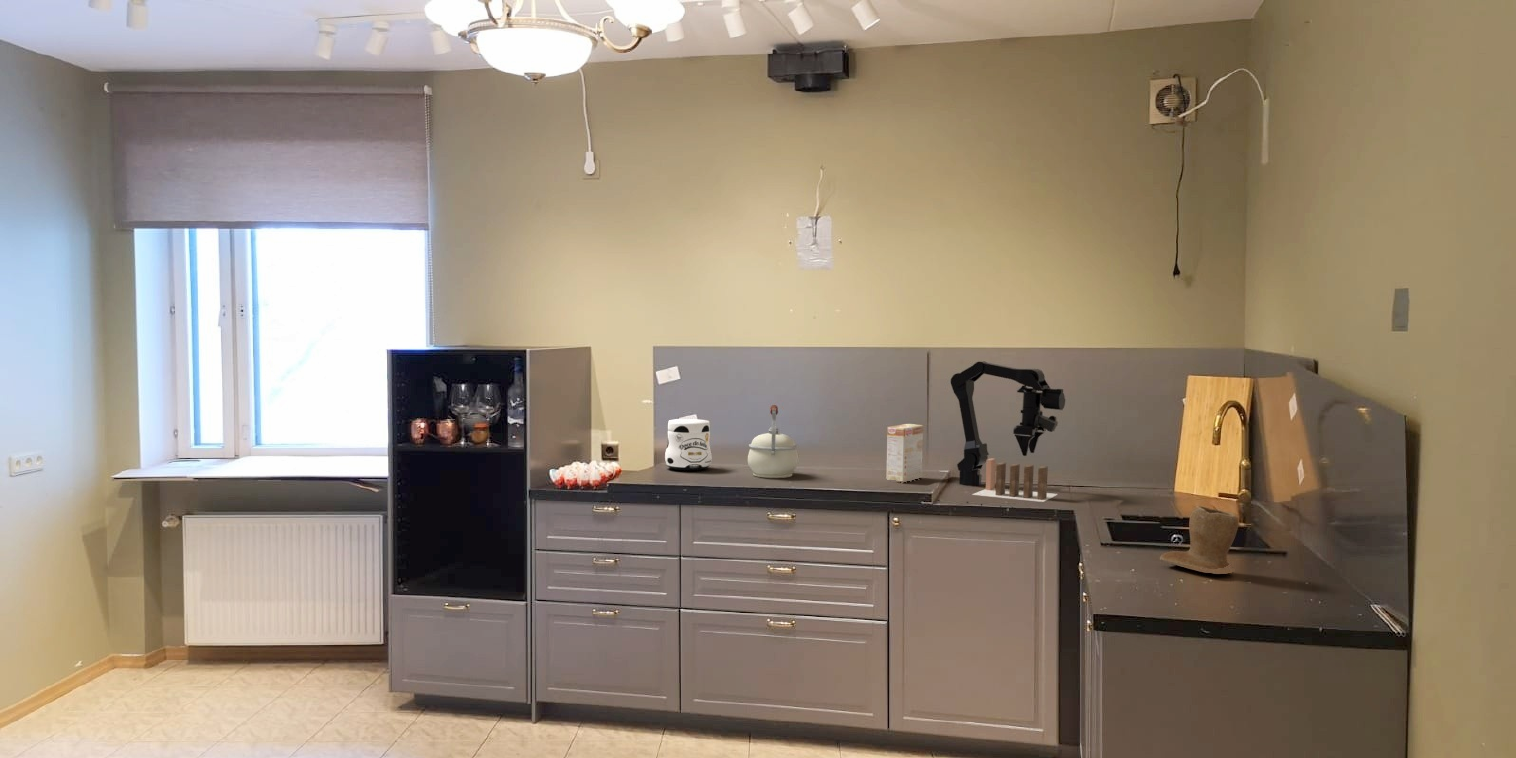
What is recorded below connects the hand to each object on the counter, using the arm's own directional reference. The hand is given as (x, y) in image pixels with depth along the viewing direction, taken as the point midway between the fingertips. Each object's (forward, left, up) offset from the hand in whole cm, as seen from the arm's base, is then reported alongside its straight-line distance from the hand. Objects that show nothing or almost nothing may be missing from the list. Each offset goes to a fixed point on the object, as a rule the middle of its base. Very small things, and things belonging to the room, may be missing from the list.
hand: (1028, 454), depth 351 cm
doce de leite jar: (-121, -19, -14) cm, 124 cm away
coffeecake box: (-45, +5, -14) cm, 48 cm away
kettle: (-89, -12, -14) cm, 91 cm away
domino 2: (-5, -12, -12) cm, 18 cm away
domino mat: (-1, -9, -13) cm, 16 cm away
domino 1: (-11, -3, -12) cm, 17 cm away
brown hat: (+65, -84, -14) cm, 107 cm away
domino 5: (+8, -12, -12) cm, 19 cm away
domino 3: (-1, -12, -12) cm, 17 cm away
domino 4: (+4, -12, -12) cm, 17 cm away
